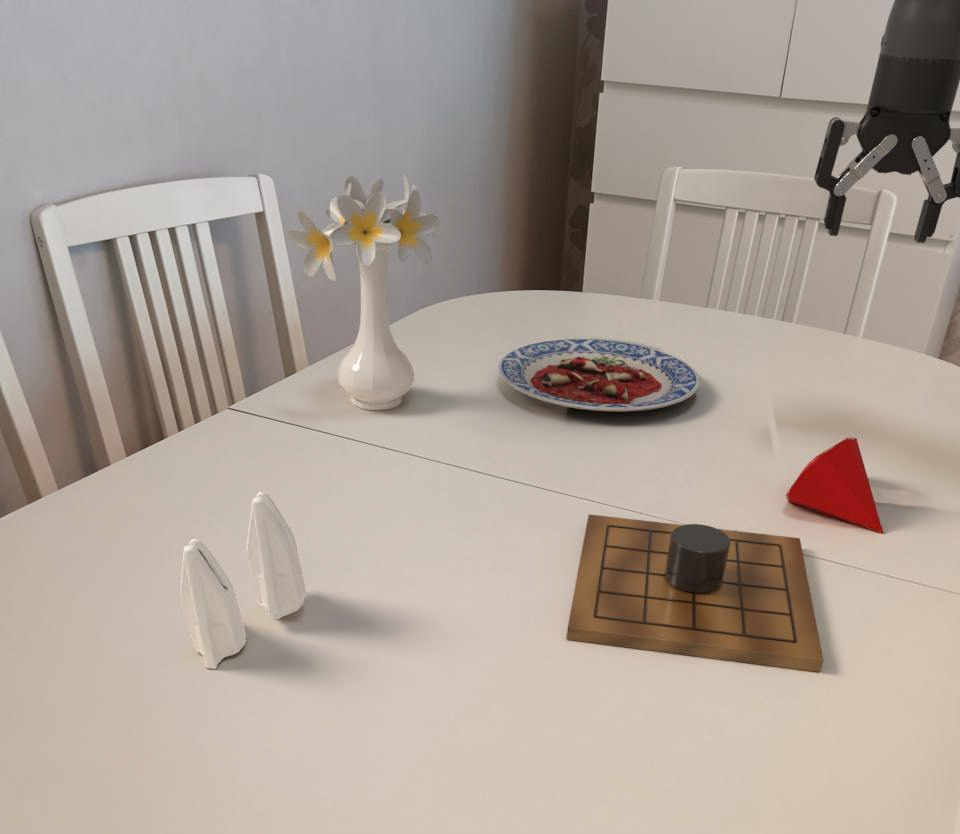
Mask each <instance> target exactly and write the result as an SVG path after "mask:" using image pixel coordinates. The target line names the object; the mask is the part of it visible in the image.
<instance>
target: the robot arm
mask: <svg viewBox="0 0 960 834" xmlns="http://www.w3.org/2000/svg"><path fill="white" fill-rule="evenodd" d="M959 85H960V0H893V4H892V7H891V9H890V12H889V15H888V18H887V21H886V25H885V29H884V33H883V35H882V37H881V41H880V51H879V55H878V60H877V64H876V69H875V72H874V77H873V80H872V85H871V89H870V90H871V91H870V94H869V98H868V103H867V106H866V111H865V113H864V115H863V117H862V118H861V120H860V121H859V122H857V121H850V120H843V119H841V118H840V117H837V116H835V117H832V118H831V119H830V120H829V122H828V125H827V129H826V132H825V137H824V140H823V144H822V147H821V151H820V155H819V158H818V161H817V165H816V168H815V169H816V170H815V173H814V177H813V180H814V181H815V183H816V185H817V186H818V187H819V188H820V189H824V190H825V191H827V192H829V193H828V194H829V195H828V201H827V205H826V210H825V214H824V217H823V218H824V219H823V226H824V227H825V229H826V230H828V231H827V233H828V235H829V236H830V237H838V235H839V232H840V228H841V223H842V219H843V215H844V210H845V206H846V202H847V196H846V194H847V192H848V191H849V190H850V189H851V188H852V187H853V186H854V185H855V184H856V183H857V182H858V181H860V180H861V179H863V178H864V177H865V176H866V175H867V174H868V173H869V172H870V171H871V170H873V171H876V172H877V174H878V173H879V174H890V173H895V172H896V173H899V174H900V175H907V176H911V175H912V174H914V173H917V172H918V175H919V177H920V178H921V180H922V182H923V185H924V187H925V190H926V192H927V194H928V196H927V199H923V202H922V207H921V209H920V210H921V211H920V214H919V218H918V221H917V224H916V229H915V232H914V237H913V239H914V241H915V242H916V243H918V244H925V243H926V241H927V239H928V238H932V236H933V235H934V234H935V233H936V230H937V229H936V228H937V225H938V221H939V219H940V215H941V212H942V208H943V205H944V204H945V202H947V201H949V200H952V199H956V198H958V199H959V198H960V127H951V126H950V117H951V115H952V114H951V113H952V111H953V107H954V103H955V100H956V95H957V92H958V89H959ZM854 135H856V139H857V140H858V143H859V146H860V148H861V151H860V152H859V153H858V154H857V155H855V156H854V158H853V159H852V160H851V161H850V162H849V163H848V165H847V166H846V167H845V168H844V169H843V171H842V172H840V173H839V175H837V176H834V175H832V174H833V171H834V167H835V163H836V161H837V157H838V153H839V149H840V147H843V146H845V145H846V144H847V143H848V142H849V140H850V139H851V137H852V136H854ZM949 141H951V149H952V151H954V152H955V153H956V156H955V160H954V165H953V169H952V174H951V178H950V182H948V183H945V184H943V181H942V179H941V175H940V173H939V170H938V167H937V165H936V163H935V161H934V158H933V157H934V156H935V155H936V154H937V153H938V152H939V151H940V150H941V149H942V148H943V147H944V146H945V145H946V144H947V143H948V142H949Z"/></svg>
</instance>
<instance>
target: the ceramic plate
mask: <svg viewBox="0 0 960 834" xmlns="http://www.w3.org/2000/svg"><path fill="white" fill-rule="evenodd" d="M498 373H499V375H500V377H501V378H502V380H503V381H504V382H505V383H506V384H507V385H508V386H510V387H511V388H513V389H515V390H516V391H518V392H520V393H522V394H523V395H526V396H528V397H531V398H533V399H535V400H539V401H542V402H545V403H548V404H553V405H557V406H561V407H565V408H570V409H571V408H572V409H578V410H587V411H594V412H595V411H596V412H599V411H600V412H625V413H626V412H637V411H649V410H655V409H661V408H666V407H670V406H673V405H675V404H679V403H681V402H683V401H685V400H687V399H689V398H691V397H693V395H694V394H696V393H697V391H698V390H699V387H700V385H701V378H700V375H699V374H698V372H697V371H696V370H695V369H694V368H693V366H691V364H688V363H687V362H685V361H684V360H682V359H680V358H678V357H676V356H674V355H672V354H669V353H667V352H664V351H662V350H658V349H655V348H652V347H648V346H644V345H640V344H635V343H630V342H623V341H617V340H615V341H614V340H606V339H595V338H594V339H593V338H589V339H588V338H570V339H569V338H567V339H566V338H565V339H555V340H553V339H552V340H545V341H540V342H534V343H531V344H528V345H523V346H521V347H520V346H519V347H518V348H516V349H513V350H511V351H510V352H508V353H506V355H504V356H503V357H502V358H501V360H500V361H499V363H498Z"/></svg>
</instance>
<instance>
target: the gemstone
mask: <svg viewBox="0 0 960 834" xmlns="http://www.w3.org/2000/svg"><path fill="white" fill-rule="evenodd" d="M785 497H786V500H787V502H788V503H791V504H794V505H797V506H799V507H803V508H806V509H809V510H811V511H815V512H818V513H821V514H824V515H826V516H831V517H833V518H836V519H839V520H842V521H845V522H847V523H851V524H853V525H856V526H860V527H862V528H865V529H870V530H872V531H874V532H877V533H881V534H885V533H884V530H883V525H882V523H881V519H880V516H879V512H878V509H877V505H876V502H875V499H874V498H875V497H874V495H873V491H872V489H871V484H870V480H869V477H868V474H867V470H866V467H865V463H864V460H863V455H862V453H861V449H860V446H859V442H858V439H857V437H846V438H844V439H842V440H841V441H839V442H837V443H835V444H834V445H832V446H831V447H829V448H827V449H825V450H824V451H822V452H821V453H819V454H817V455H816V456H815V457H814V458H812V460H810V461H809V462H808V463H807V464H806V465H805V467H804V468H803V469H802V471H801V473H800V474H799V475H798V477H797V478H796V480H795V481H794V482H793V484H792V485H791V486H790V488H789V489H788V491H787V493H786V494H785Z"/></svg>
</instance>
